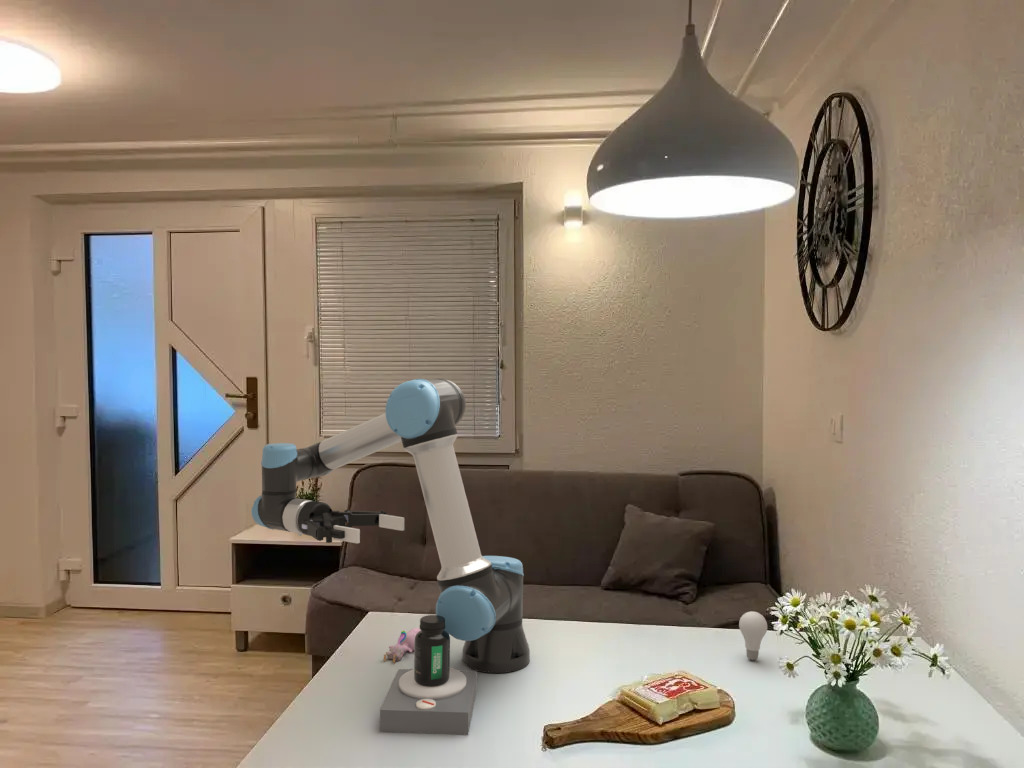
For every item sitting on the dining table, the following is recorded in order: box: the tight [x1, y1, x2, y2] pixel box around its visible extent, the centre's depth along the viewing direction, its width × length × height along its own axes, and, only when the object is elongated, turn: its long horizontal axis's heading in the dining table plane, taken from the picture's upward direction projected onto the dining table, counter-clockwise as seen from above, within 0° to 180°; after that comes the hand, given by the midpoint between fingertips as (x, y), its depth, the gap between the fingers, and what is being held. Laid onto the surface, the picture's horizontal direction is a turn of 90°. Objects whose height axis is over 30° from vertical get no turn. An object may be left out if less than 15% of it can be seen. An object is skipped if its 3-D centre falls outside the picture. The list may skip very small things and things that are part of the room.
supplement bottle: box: [413, 614, 451, 687], centre depth 147 cm, size 7×7×12 cm
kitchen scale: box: [379, 667, 478, 735], centre depth 145 cm, size 18×16×5 cm
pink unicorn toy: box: [382, 627, 421, 664], centre depth 174 cm, size 6×6×15 cm
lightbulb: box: [738, 610, 768, 661], centre depth 171 cm, size 6×6×11 cm
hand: (381, 530), depth 156 cm, fingers open, 13 cm apart
